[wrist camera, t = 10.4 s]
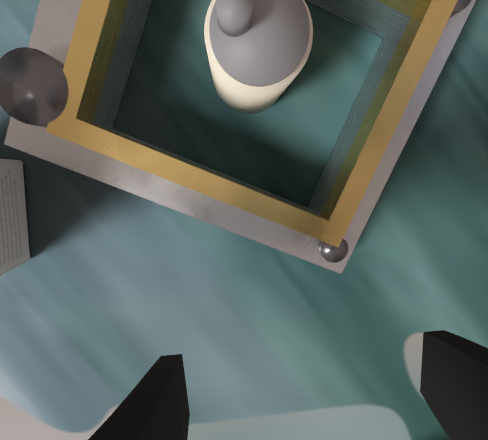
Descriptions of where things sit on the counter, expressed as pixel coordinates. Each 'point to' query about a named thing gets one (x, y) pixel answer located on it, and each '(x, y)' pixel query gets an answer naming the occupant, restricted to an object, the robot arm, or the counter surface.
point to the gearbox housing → (202, 177)
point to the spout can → (256, 49)
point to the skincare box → (12, 216)
